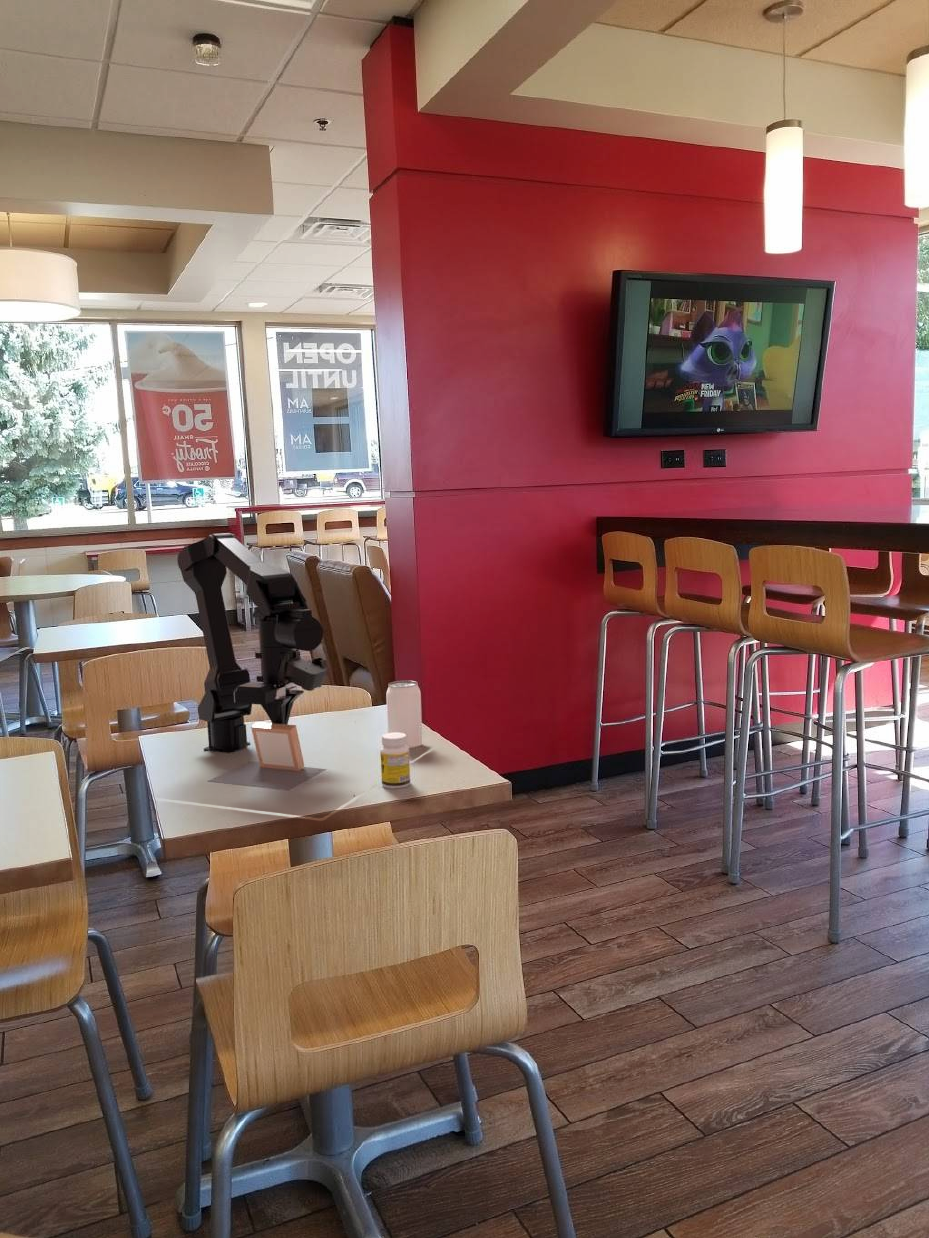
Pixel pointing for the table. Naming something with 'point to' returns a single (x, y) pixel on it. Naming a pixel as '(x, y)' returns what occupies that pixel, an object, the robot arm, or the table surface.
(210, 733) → the robot arm
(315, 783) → the table surface
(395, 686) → the can
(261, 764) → the tile
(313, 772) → the mat
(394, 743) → the supplement bottle
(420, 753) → the table surface
